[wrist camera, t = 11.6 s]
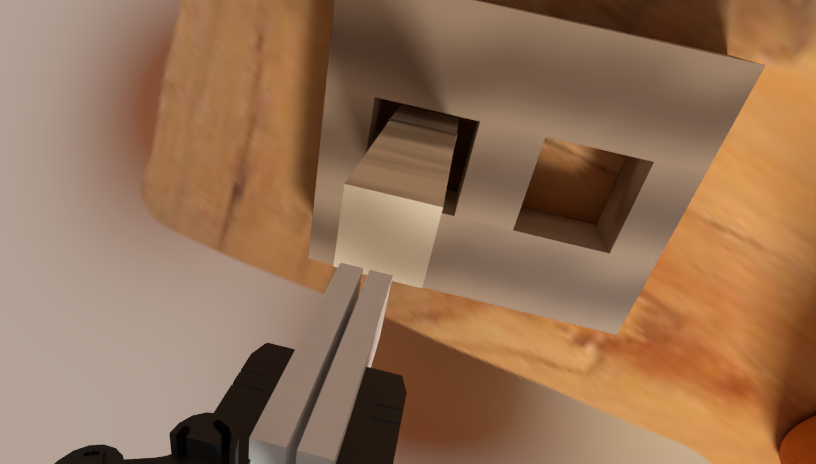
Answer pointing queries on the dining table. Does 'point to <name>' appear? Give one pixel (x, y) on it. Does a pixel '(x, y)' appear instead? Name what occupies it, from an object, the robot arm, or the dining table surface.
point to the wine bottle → (800, 444)
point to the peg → (398, 196)
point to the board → (530, 142)
